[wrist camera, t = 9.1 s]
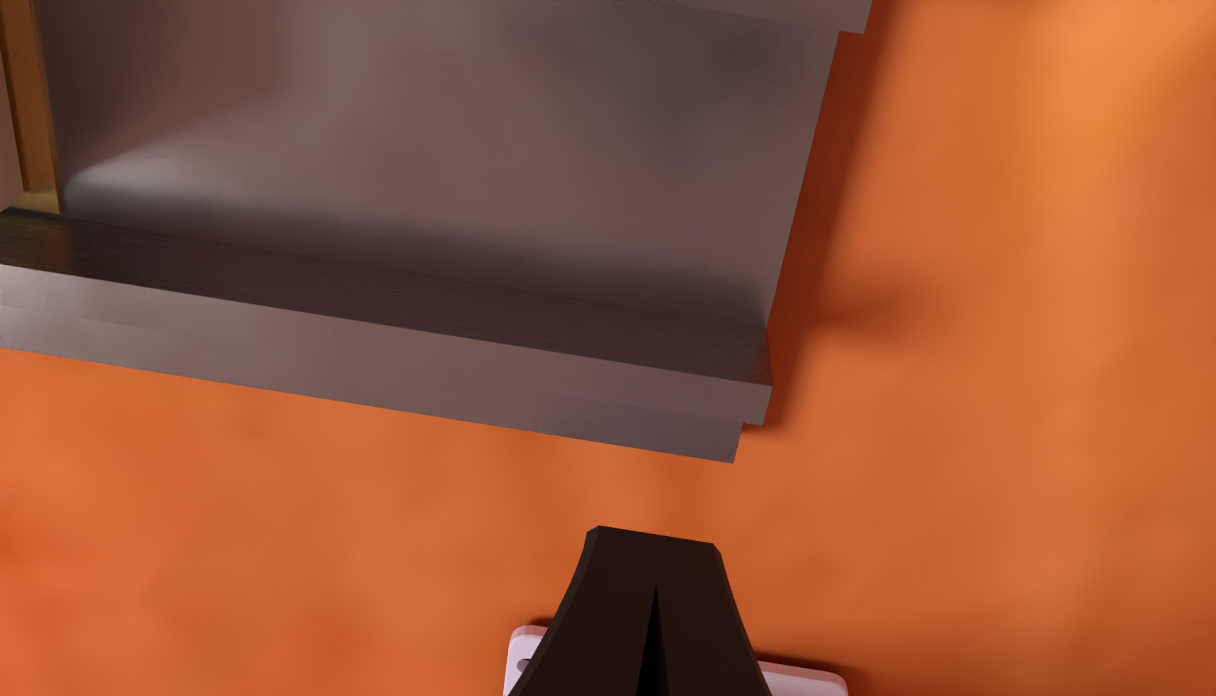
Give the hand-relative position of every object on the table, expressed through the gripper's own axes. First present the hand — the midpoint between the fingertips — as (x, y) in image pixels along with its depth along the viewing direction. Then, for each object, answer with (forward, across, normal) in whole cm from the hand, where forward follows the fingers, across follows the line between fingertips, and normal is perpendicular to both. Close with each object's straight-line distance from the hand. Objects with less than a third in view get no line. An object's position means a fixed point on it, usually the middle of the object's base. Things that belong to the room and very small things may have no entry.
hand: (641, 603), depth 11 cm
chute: (+9, +8, -2) cm, 13 cm away
